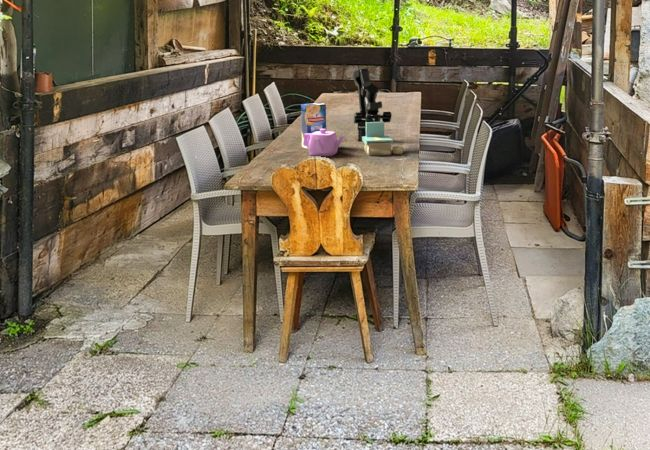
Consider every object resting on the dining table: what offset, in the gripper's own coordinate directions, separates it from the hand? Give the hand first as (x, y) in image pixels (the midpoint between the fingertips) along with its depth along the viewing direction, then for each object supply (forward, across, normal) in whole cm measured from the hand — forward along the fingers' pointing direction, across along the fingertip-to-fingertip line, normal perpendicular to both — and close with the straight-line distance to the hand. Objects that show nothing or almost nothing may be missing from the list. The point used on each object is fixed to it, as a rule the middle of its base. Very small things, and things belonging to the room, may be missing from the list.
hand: (374, 130), depth 424 cm
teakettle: (+11, -26, +3) cm, 29 cm away
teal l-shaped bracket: (+9, 0, -2) cm, 9 cm away
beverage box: (-4, -29, +18) cm, 35 cm away
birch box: (+13, 0, +1) cm, 13 cm away
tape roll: (+15, +10, -1) cm, 18 cm away
